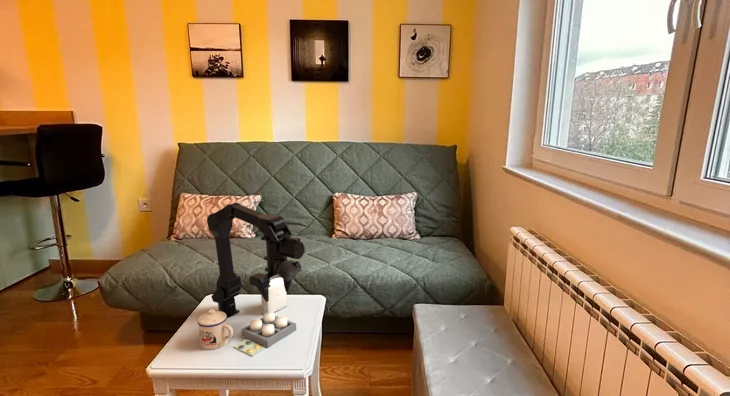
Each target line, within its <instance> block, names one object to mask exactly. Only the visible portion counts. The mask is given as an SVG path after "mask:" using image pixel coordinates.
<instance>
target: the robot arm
mask: <svg viewBox="0 0 730 396" xmlns="http://www.w3.org/2000/svg"><path fill="white" fill-rule="evenodd" d="M235 219H238V220H239V221H240V220H241V221H242V222H245V223H246V224H247V223H248V224H249V225H252V226H255V227H256V228H257V229H258V231H259V233H262V234H263V235H262V237H260V240H261V241H264V242H265V248H266V250H265V251H266V253H265V254H266V255H265V256H264V257H263V259H264V260H265V261H266V267H264V272H266V274H264V273H261V272H258V273H255V274H253V275H251V276H250V277H249V278H248V283H249V285H251V286H253V287H255V288H257V290H258V291H259V292H260V295H261V294H262V296H263V298H264V300H265V301H266V302H268V300H269V291H268V288H269V287H270V286H271V285H269V283H270V280H272V279H274V278H277V276H279V277H280V278H283V282H284V287H285V291H286V293H289V291H290V288H291V286H292V282H293V279H295V278H297V275H298V274H299V273H300V272H301V271H302V265H301V263H300V261H298V260H300V259H302V257H303V255H304V254H305V249H306V248H305V244H304V243H303V242H302V241H301V238H300V237H295V236H294V237H293V235H294V234H293V233H292V230H291V229H290V227H289V226H288V224H287V223H286V221H285V218H284V217H283V216H282V215H277V214H271V213H270V214H266V213H262V212H259V211H257V210H254V209H252V208H250V207H247V206H244V205H242V204H241V203H239V202H233V203H230V204H227V205H226V206H224V207H222V208H221V209H220V210H217V211H216V212H212V213H210V214H209V215H208V216H207V217H206V223H207V227H208V230H209V232H210V233H211V234H212V236H214V237H213V238H214V240H215V241H214V242H215V247H216V255H217V262H218V263H217V264H218V270H219V276H218V278H217V281H216V290H215V291H214V292H213V293H212V295H211V296H210V297H211V299H212V302H214V303H217V308H218V311H222V312H224V313H225V314H226V315H227V319H229V318H230V317H232V316H234V315H236V314H238V313H240V310H239V309H237V306H236V305H237V304H236V299H235V297H237V296H239V295H240V292H241V290H242V286H243V284H242V281H241V280H242V279H241V276H240V275H238V274H236V273H235V270H234V263H233V254H232V247H231V246H232V245H231V239H230V234H231V231H232V228H233V220H235ZM288 258H290V260H288ZM292 259H295V260H292Z"/></svg>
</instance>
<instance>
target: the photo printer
mask: <svg viewBox="0 0 730 396" xmlns="http://www.w3.org/2000/svg"><path fill="white" fill-rule="evenodd" d="M269 285H271V286H270V287H269V288H268V291H269V300H268V302H266V301H265V300H264V298H263V296H262V294H261V293H260V296H261V298H260V300H261V311H262V313H263V314H262V315H264V314H265V313H267V312H273V313H276V312H278V311H280V310H282V309H284V308H286V307H288V296H287V292H286V291H285V287H284V282H283V278H282V277H273V278H271V279H270V283H269Z"/></svg>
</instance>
